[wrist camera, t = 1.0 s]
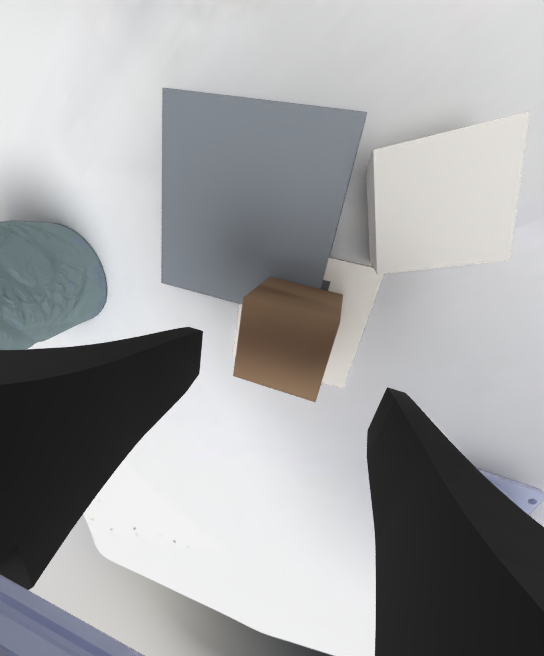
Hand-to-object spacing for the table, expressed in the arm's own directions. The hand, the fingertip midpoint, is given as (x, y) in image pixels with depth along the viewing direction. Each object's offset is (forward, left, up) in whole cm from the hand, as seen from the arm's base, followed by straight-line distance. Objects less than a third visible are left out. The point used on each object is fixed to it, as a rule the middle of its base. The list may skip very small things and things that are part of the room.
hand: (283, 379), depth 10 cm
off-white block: (+7, -4, -10) cm, 13 cm away
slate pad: (+5, +6, -9) cm, 12 cm away
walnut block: (-1, +1, -9) cm, 9 cm away
